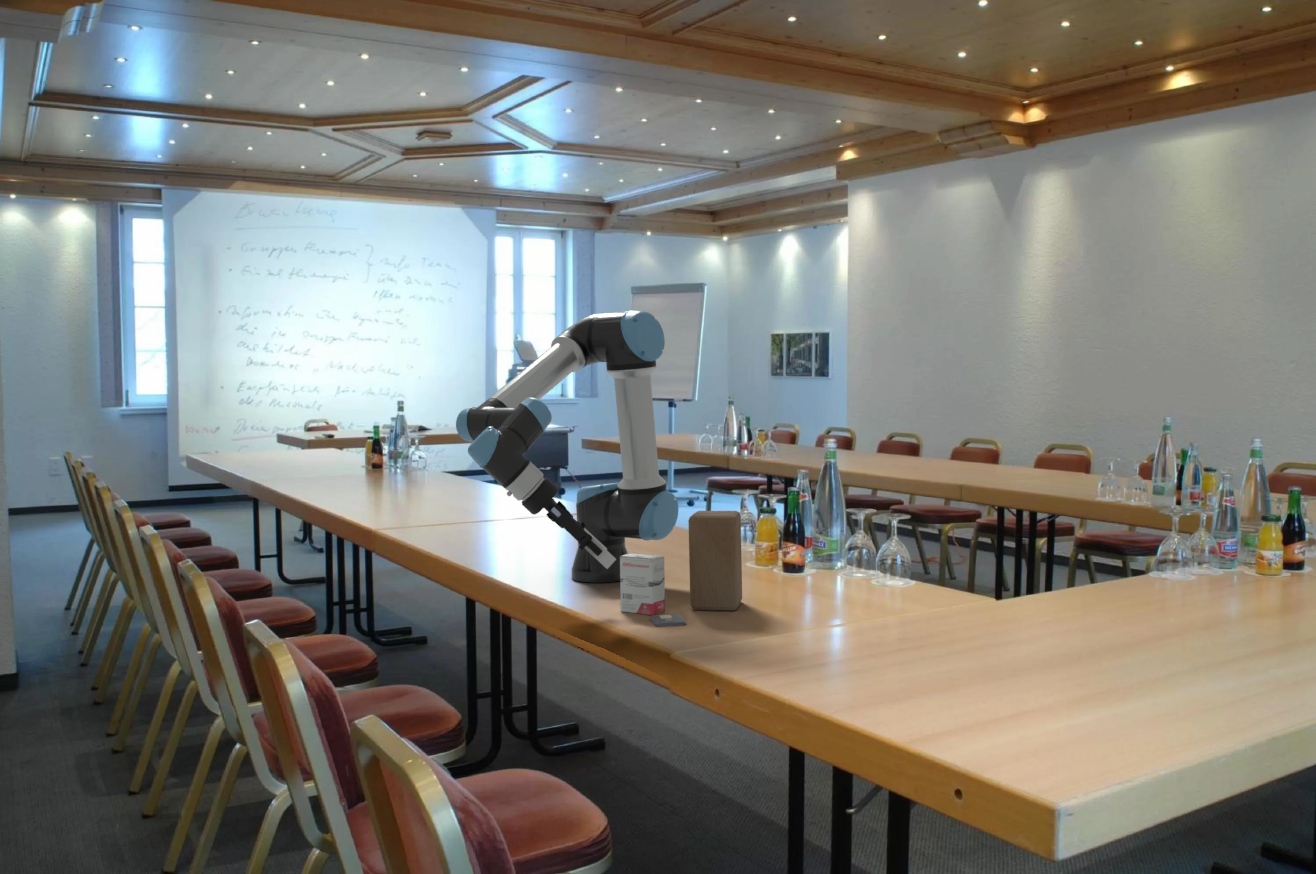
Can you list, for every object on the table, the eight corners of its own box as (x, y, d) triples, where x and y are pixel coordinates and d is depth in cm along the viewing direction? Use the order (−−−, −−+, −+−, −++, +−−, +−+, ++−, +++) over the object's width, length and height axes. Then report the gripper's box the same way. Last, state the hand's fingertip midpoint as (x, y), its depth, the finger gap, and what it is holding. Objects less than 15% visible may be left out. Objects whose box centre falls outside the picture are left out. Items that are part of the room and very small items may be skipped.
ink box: (666, 610, 223) (665, 554, 222) (653, 615, 219) (652, 558, 218) (632, 606, 228) (631, 552, 227) (619, 611, 223) (617, 555, 223)
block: (737, 612, 220) (735, 516, 219) (689, 611, 222) (687, 516, 221) (742, 601, 230) (741, 510, 229) (697, 600, 232) (695, 510, 231)
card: (649, 618, 216) (649, 615, 216) (678, 616, 217) (678, 613, 217) (656, 626, 209) (655, 622, 209) (685, 624, 210) (685, 620, 210)
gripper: (516, 496, 229) (587, 561, 232) (523, 510, 204) (602, 582, 208) (540, 470, 229) (610, 536, 233) (550, 481, 205) (628, 554, 208)
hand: (607, 558), depth 220 cm, fingers open, 13 cm apart
